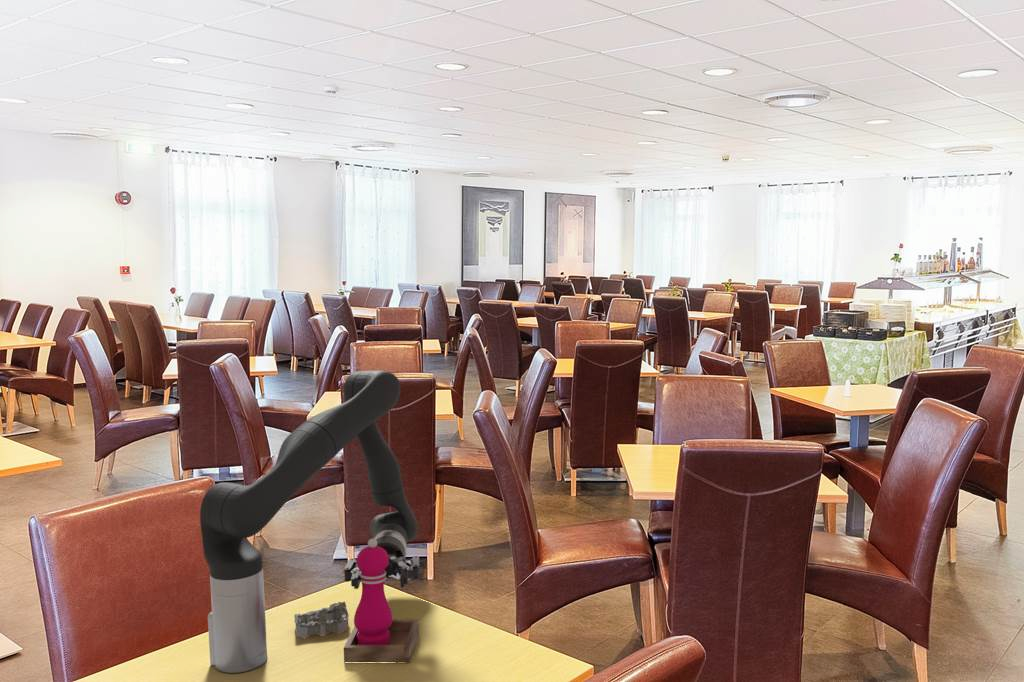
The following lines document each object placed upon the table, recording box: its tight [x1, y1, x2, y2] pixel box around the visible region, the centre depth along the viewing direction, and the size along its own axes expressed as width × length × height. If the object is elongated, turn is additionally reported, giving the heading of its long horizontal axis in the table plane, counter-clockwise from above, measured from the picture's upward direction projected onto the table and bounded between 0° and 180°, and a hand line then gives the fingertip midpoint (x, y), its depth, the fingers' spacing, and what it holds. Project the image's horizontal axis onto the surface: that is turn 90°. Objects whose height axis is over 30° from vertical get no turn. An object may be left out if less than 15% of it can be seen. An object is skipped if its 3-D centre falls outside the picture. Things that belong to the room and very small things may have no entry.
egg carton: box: [294, 601, 350, 639], centre depth 169 cm, size 11×8×4 cm
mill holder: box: [343, 618, 420, 664], centre depth 160 cm, size 12×12×3 cm
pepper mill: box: [353, 538, 394, 645], centre depth 159 cm, size 7×7×20 cm
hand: (379, 583), depth 157 cm, fingers open, 8 cm apart
